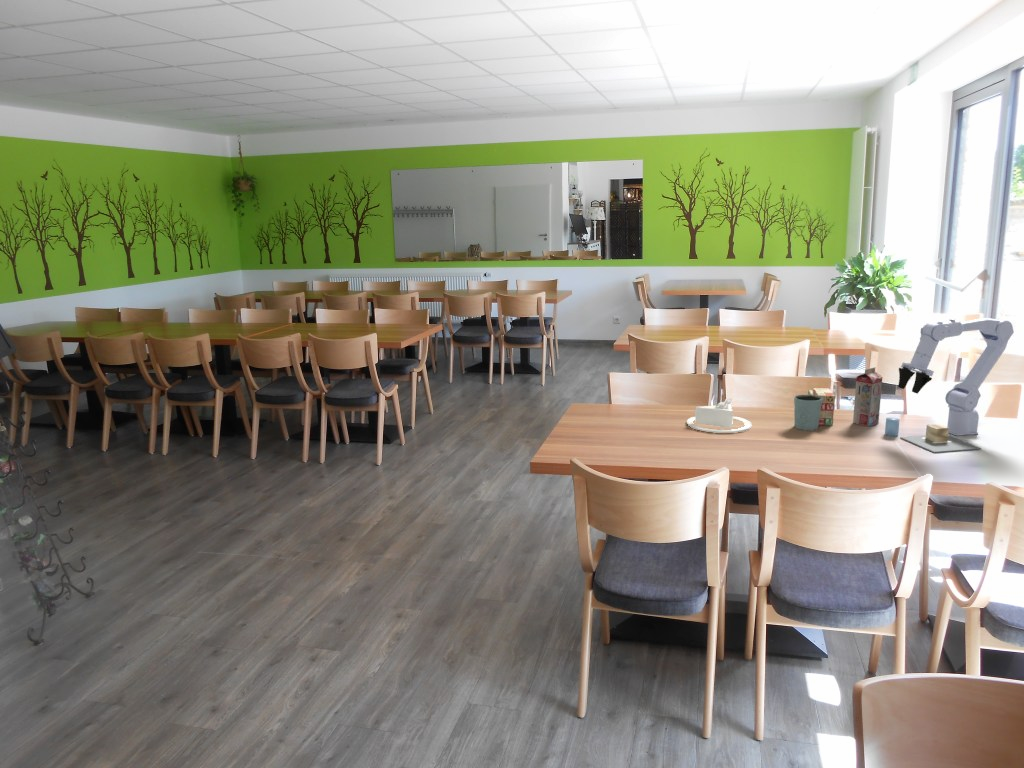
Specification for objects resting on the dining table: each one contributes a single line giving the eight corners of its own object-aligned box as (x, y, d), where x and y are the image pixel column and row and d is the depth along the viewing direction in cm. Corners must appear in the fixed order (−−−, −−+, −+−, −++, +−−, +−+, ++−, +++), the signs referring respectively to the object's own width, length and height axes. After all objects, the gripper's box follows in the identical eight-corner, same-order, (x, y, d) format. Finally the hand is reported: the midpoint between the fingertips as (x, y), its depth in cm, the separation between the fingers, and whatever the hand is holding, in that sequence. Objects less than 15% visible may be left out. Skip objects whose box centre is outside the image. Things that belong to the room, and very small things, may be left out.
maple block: (937, 437, 276) (939, 424, 275) (947, 441, 271) (949, 427, 270) (925, 438, 275) (926, 425, 274) (934, 442, 270) (936, 428, 269)
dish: (747, 418, 310) (748, 391, 308) (755, 435, 286) (756, 406, 284) (685, 416, 315) (686, 390, 312) (688, 433, 291) (689, 405, 288)
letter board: (944, 435, 280) (944, 433, 280) (981, 449, 263) (981, 448, 263) (900, 438, 278) (900, 437, 278) (934, 453, 260) (934, 451, 260)
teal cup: (791, 429, 292) (793, 399, 289) (792, 422, 301) (794, 393, 298) (820, 432, 288) (822, 401, 285) (820, 425, 297) (822, 395, 294)
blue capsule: (893, 432, 285) (894, 417, 284) (900, 435, 281) (902, 420, 279) (882, 433, 284) (883, 417, 283) (889, 436, 280) (891, 421, 279)
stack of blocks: (806, 411, 318) (808, 382, 315) (822, 411, 316) (824, 383, 314) (816, 425, 297) (818, 394, 295) (833, 425, 296) (835, 395, 293)
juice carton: (878, 423, 297) (883, 368, 292) (868, 426, 293) (873, 370, 289) (862, 420, 302) (866, 366, 298) (852, 422, 299) (857, 368, 294)
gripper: (901, 348, 280) (886, 382, 282) (927, 355, 266) (911, 391, 268) (916, 354, 281) (901, 388, 283) (944, 361, 267) (928, 397, 269)
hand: (907, 390), depth 276 cm, fingers open, 7 cm apart
